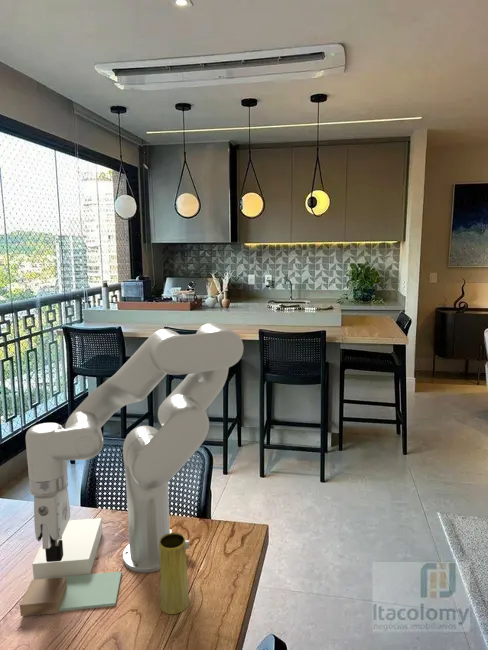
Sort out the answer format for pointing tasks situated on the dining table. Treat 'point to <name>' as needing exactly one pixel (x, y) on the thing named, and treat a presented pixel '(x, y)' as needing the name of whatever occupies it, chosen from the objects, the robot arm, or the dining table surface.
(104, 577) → the mat
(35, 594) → the block
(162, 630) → the dining table surface
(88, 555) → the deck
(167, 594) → the vase
